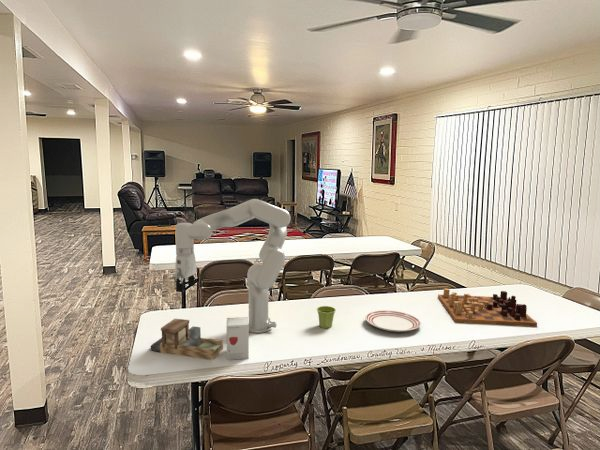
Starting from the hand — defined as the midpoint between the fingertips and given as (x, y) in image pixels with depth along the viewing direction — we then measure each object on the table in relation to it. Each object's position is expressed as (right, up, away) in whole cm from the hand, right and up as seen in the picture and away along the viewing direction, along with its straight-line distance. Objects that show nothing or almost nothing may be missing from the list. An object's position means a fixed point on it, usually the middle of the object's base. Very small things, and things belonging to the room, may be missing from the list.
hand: (185, 288), depth 190 cm
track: (+3, -25, -7) cm, 27 cm away
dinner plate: (+97, -22, +25) cm, 103 cm away
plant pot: (+64, -22, +22) cm, 71 cm away
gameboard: (+152, -20, +47) cm, 161 cm away
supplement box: (+25, -26, -11) cm, 38 cm away
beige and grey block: (+1, -22, -8) cm, 24 cm away
